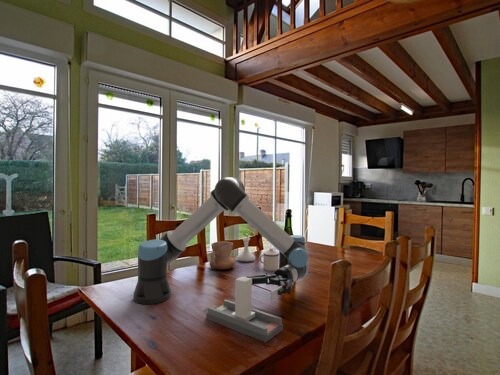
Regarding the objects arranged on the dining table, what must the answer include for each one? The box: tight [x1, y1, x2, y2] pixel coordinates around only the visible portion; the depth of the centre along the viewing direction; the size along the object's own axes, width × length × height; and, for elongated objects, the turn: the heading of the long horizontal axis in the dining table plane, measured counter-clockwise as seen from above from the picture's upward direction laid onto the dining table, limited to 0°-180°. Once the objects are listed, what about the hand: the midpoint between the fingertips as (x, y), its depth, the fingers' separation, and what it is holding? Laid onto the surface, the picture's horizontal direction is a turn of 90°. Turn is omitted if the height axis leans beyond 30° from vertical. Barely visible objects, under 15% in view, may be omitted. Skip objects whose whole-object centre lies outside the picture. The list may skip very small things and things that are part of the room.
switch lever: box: [231, 276, 255, 321], centre depth 102 cm, size 6×6×13 cm
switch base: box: [205, 298, 284, 343], centre depth 103 cm, size 26×10×4 cm, turn 53°
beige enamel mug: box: [258, 247, 280, 272], centre depth 169 cm, size 12×9×12 cm
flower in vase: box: [236, 223, 257, 262], centre depth 185 cm, size 13×11×25 cm
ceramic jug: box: [209, 241, 236, 271], centre depth 168 cm, size 18×14×14 cm
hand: (255, 290), depth 107 cm, fingers open, 13 cm apart
